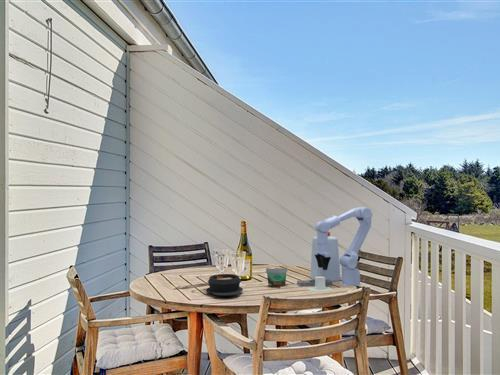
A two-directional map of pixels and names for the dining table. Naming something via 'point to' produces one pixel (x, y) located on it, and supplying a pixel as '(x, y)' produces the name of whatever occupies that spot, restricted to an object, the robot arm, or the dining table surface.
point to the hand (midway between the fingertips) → (322, 268)
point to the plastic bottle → (333, 266)
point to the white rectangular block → (319, 283)
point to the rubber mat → (321, 289)
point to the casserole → (224, 285)
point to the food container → (276, 277)
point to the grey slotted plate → (312, 282)
